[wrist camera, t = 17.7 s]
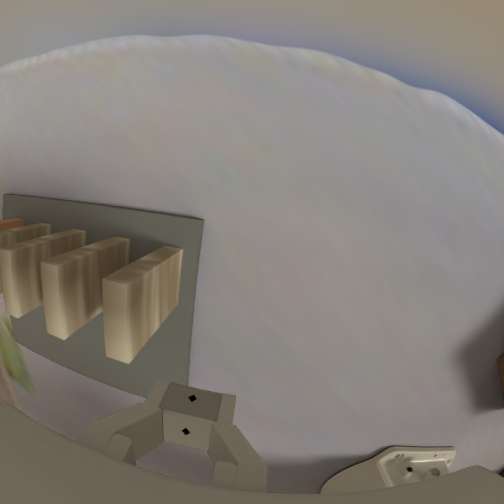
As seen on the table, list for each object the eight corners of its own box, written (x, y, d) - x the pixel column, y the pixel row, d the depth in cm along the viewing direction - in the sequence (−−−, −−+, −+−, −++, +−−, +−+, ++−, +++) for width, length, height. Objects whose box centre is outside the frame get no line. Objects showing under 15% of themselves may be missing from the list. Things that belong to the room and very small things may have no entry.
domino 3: (130, 238, 24) (57, 266, 14) (128, 292, 25) (64, 340, 15) (115, 236, 24) (40, 261, 14) (114, 288, 25) (47, 332, 15)
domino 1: (51, 224, 24) (-22, 241, 14) (52, 270, 25) (-15, 300, 15) (42, 222, 24) (-30, 238, 14) (42, 267, 25) (-24, 295, 16)
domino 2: (86, 230, 24) (10, 252, 14) (86, 280, 25) (17, 318, 15) (74, 228, 24) (-1, 248, 14) (74, 277, 25) (6, 312, 15)
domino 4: (183, 248, 24) (127, 285, 14) (178, 303, 25) (129, 364, 15) (165, 245, 24) (102, 278, 14) (161, 300, 25) (106, 356, 15)
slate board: (204, 219, 24) (201, 220, 23) (187, 403, 28) (184, 408, 27) (9, 193, 25) (3, 194, 24) (19, 338, 29) (15, 341, 28)
